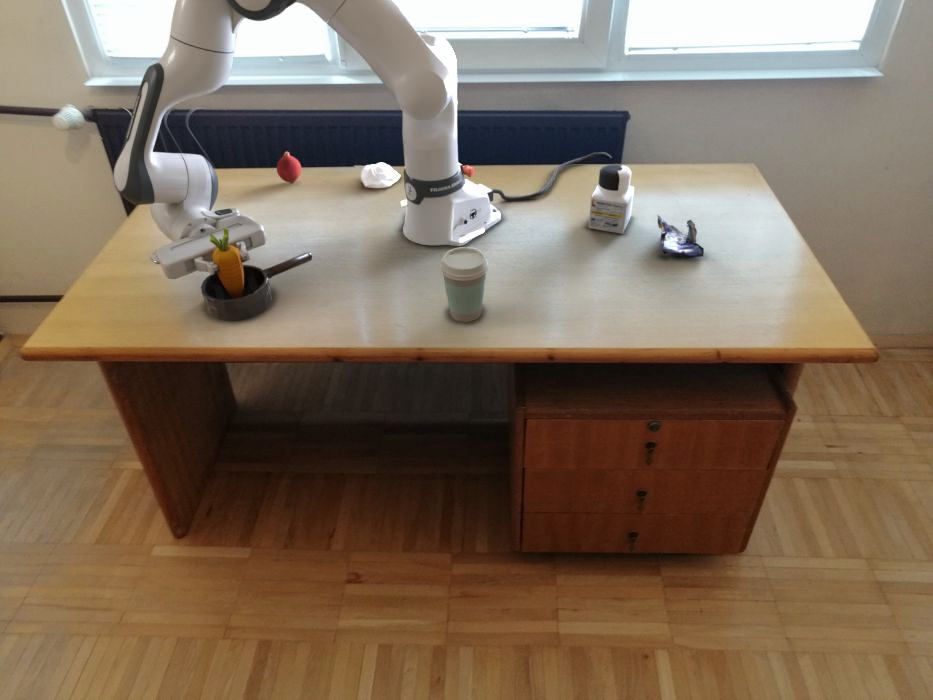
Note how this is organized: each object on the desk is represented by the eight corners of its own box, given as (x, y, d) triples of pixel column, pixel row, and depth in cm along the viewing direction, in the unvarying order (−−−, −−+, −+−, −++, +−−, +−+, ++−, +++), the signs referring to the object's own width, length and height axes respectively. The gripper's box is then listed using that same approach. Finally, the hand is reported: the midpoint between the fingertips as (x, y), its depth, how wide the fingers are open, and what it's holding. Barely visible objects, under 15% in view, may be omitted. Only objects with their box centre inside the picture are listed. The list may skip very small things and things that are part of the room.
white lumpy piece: (356, 157, 177) (395, 152, 179) (358, 174, 180) (397, 169, 182) (361, 174, 170) (402, 169, 171) (363, 192, 173) (403, 186, 174)
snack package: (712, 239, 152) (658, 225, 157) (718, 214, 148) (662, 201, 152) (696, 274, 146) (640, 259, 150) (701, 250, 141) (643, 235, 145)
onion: (298, 189, 175) (292, 158, 170) (276, 187, 176) (269, 156, 171) (307, 178, 179) (301, 148, 174) (285, 177, 180) (279, 146, 175)
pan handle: (310, 257, 145) (308, 249, 144) (314, 260, 144) (313, 253, 143) (260, 277, 140) (258, 270, 139) (265, 281, 139) (263, 273, 138)
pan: (253, 277, 145) (248, 258, 142) (283, 303, 138) (279, 283, 135) (196, 300, 139) (190, 281, 136) (224, 329, 132) (218, 309, 129)
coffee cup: (496, 306, 135) (496, 251, 128) (475, 331, 129) (474, 275, 122) (456, 295, 138) (454, 241, 131) (434, 319, 133) (430, 263, 125)
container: (587, 228, 157) (593, 173, 148) (596, 212, 162) (602, 158, 154) (623, 234, 154) (630, 178, 146) (630, 217, 160) (638, 163, 152)
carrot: (228, 309, 136) (208, 241, 126) (222, 296, 139) (202, 228, 129) (254, 302, 137) (236, 233, 128) (248, 289, 141) (230, 221, 131)
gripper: (141, 240, 133) (171, 270, 125) (242, 204, 143) (276, 230, 135) (151, 269, 137) (181, 300, 129) (249, 232, 147) (282, 258, 139)
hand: (230, 264), depth 132 cm, fingers closed on carrot, 5 cm apart
